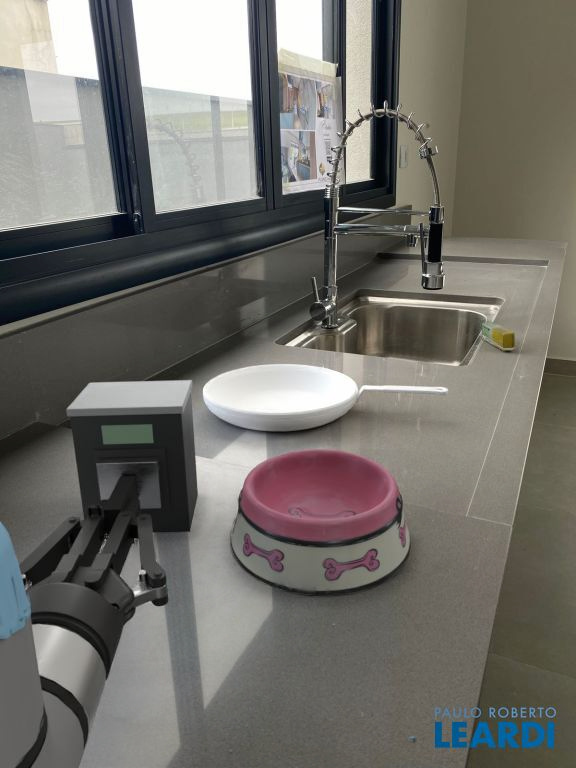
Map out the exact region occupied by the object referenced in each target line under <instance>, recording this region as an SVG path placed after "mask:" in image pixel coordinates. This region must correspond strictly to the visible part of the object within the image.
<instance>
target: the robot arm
mask: <svg viewBox="0 0 576 768" xmlns="http://www.w3.org/2000/svg"><path fill="white" fill-rule="evenodd" d="M87 509H88V517H87V519H84V518H83V519H80V517H79V516H70V517H68V518H66V519H65V520H64V521H63V522H62V523H61V524H60V525H59V526H58V527H57V528H55V529H54V531H53V532H51V534H49V535H48V536H47V537H46V538H45V539H44V540H43V541H42V542H41V543H40V544H39V545H38V546H37V547H36V548H34V550H33V551H32V552H31V553H30V554H28V555H27V556H26V557H25V558H24V559H23V560H22V561H21V562H20V563H19V560H18V557H17V555H16V552H15V548H14V546H13V541H12V538H11V536H10V533H9V532H8V530H7V528H6V527H5V526H4V524H3V523H2V521H0V768H80V765H81V762H82V759H83V755H84V752H85V748H86V746H87V743H88V741H89V737H90V734H91V730H92V728H93V725H94V721H95V718H96V715H97V712H98V709H99V706H100V702H101V699H102V696H103V693H104V690H105V686H106V683H107V680H108V678H109V676H110V673H111V670H112V667H113V663H114V660H115V657H116V654H117V651H118V648H119V645H120V642H121V638H122V634H123V630H124V627H125V626H126V624H127V623H128V622H129V621H131V620H132V619H133V617H134V616H135V615H136V611H137V607H140V606H142V605H144V604H147V603H149V602H151V604H152V605H153V606H154V607H157V608H158V607H160V608H161V607H163V606H166V605H167V604H168V603H169V589H168V578H167V576H168V575H167V571H166V570H165V569H164V568H163V566H161V564H160V563H159V562H158V561H157V554H156V548H155V540H154V539H155V538H154V533H153V530H152V521H151V516H150V515H149V514H142V515H141V508H140V500H139V498H137V489H136V479H135V476H120V478H119V480H118V482H117V484H116V486H115V488H114V490H113V492H112V494H111V496H110V498H109V499H102V500H101V501H100V502H99V503H98V505H91V506H89V507H88V508H87ZM105 532H106V535H105ZM106 537H107V538H106ZM136 540H138V551H139V561H140V562H139V564H140V570H139V571H138V577H136V579H135V580H134V581H135V582H134V583H135V586H134V587H132V588H131V586H129V584H128V583H127V582H126V581H125V580H124V579H123V577H122V575H121V574H122V572H123V569H124V566H125V563H126V562H127V559H128V556H129V553H130V550H131V548H132V546H136Z"/></svg>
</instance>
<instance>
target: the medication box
mask: <svg viewBox="0 0 576 768" xmlns="http://www.w3.org/2000/svg"><path fill="white" fill-rule="evenodd" d="M482 335H484V336H486V337H488V338H489V339H491V340H492V341H494V342H496V343H497V344H498V345H500V346H501V347H503V348H513V347H515V348H516V338H515V337H516V335H515V332H514V331H512V330H510V329H508V328H506V327H503V326H502V325H499V324H498V323H495V322H493V321H485V322H481V338H482V340H484V341H486V342H488V343H489V344H491V345H492V346H494V347H496V348H498V349H499V350H502V349H501V348H499V347H497V346H496V345H494V344H493V343H491V342H489V341H488V340H486V339H484V338H483V337H482ZM502 351H503V352H509V351H511V350H502Z"/></svg>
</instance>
